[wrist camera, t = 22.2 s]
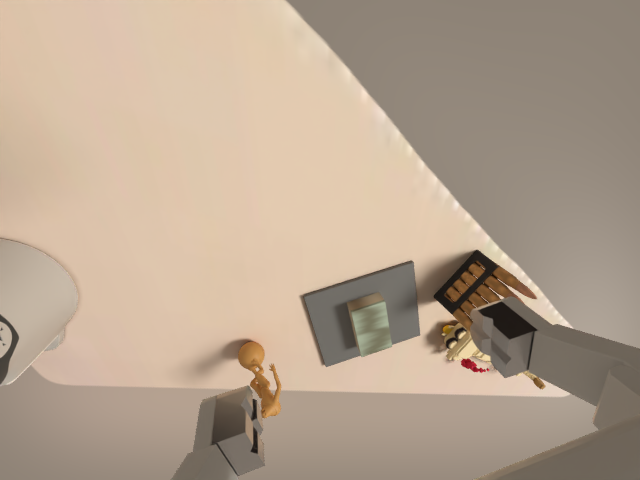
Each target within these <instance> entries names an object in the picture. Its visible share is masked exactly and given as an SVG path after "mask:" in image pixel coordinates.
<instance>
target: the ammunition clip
mask: <svg viewBox="0 0 640 480" xmlns="http://www.w3.org/2000/svg"><path fill="white" fill-rule="evenodd" d="M480 266H481V267H480ZM482 267H483V268H484V269H485V270H484V269H483V268H482ZM473 275H474V276H473ZM475 276H476V277H477V278H478V279H477V278H476V277H475ZM497 278H498V279H499V280H501V281H502V282H503V283H505V284H506V285H508V286H510V287H512V288H514V289H515V290H517V291H519V292H520V293H522V294H523V295H525V296H527V297H529V298H532V299H537V297H536V296H535V294H534V293H533V292H532V291H531V290H530V289H529V288H528V287H527V286H525V285H524V284H523V283H521V282H520V281H519V280H518V279H517V278H516V277H515V276H513V275H512V274H510V273H509V272H508V271H506V270H505V269H503V268H502V267H500V266H499V265H497V264H496V263H494V262H493V261H492V260H490V259H489V258H488V257H486V256H485V255H484V254H482V253H481V252H480V251H479V250H476V251H475V252H474V253H473V254H472V255H471V257H470V258H469V259H468V260H467V261H466V262H465V263H464V264H463V265H462V266H461V267H460V268H459V269H458V270H457V272H456V273H455V274H454V275H453V276H452V277H451V278H450V279H449V280H448V281H447V282H446V283H445V284H444V286H443V287H442V288H441V289H440V290H439V291H438V292H437V293H436V294H435V295H434V298H435V299H436V300H437V301H438V302H439V303H441V304H442V305H443V306H444V307H445V308H446V309H447V310H448V311H449V312H450V313H451V314H452V315H453V316H454V317H455V318H456V319H457V320H458V321H459V322H460V323H461V324H462V325H463V327H464V328H466V329H467V330H469V331H470V326H471V325H472V323H473V321H472V319H471V318H470V317H469V316H470V312H471V311H472V309H475V308H476V307H477V308H478V307H481V306H483V305H486V304H489V303H492V302H495V301H498V300H501V299H500V298H499V296H498V295H497V294H499V295H501V296H503V297H504V298H507V297H510V296H512V297H515V298H517V299H518V300H519V301H521V302H522V303H523V301H522V300H521V299H520V298H519V297H518V296H516V295H515V294H514V293H513V292H512V291H510V290H509V289H508V287H507V286H506V285H504V284H503V283H502V282H500V281H499V280H498V279H497ZM466 283H467V284H468V285H469V286H470V287H469V286H468V285H467V284H466ZM483 283H484V284H483ZM489 287H490V288H491V289H492V290H494V291H495V292H496V293H497V294H496V293H494V292H493V291H492V290H491V289H489ZM475 291H476V292H475ZM461 293H462V294H461ZM481 296H482V297H483V298H484V299H485V300H487V301H488V302H489V303H488V302H487V301H485V300H484V299H483V298H482V297H481ZM467 299H468V300H467ZM473 304H474V305H475V306H476V307H475V306H474V305H473ZM523 304H524V303H523ZM465 312H466V313H467V314H468V315H469V316H468V315H467V314H466V313H465Z"/></svg>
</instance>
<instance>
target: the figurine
mask: <svg viewBox="0 0 640 480" xmlns="http://www.w3.org/2000/svg"><path fill="white" fill-rule="evenodd" d="M238 360H239V362H240V364H241V365H242V366H243V367H244V368H246V369H248V370H250V371H252V372H253V373H254V374H255V378H254V379H253V380H252V381H251V383H250V386H251V387H252V388H253V389H254V390H255V391H256V392H257V394H258V396H259V397H260V398H262V401H261V407H262V410H261V415H262V418H267V417H268V416H276V415H277V414H278V413H279V412H280V410H281V406H280V403H279V395H280V391H281V384H280V381H279V378H278V376H277V373H276V370H275V366H274V364H273V365H272V364H271V366H272V367H271V366H270V365H269V366H270V367H271V369H269V370H271V371H273V373H274V378H275V381H276V384H277V390H276V392H275V395H273V394H272V393H271V391H270V390H269V388H268V387H269V386H270V382H269V381H267V379H266V378H265V377H264V376H263V375H261V374H263V373H264V370H263V368H262V366H261V363H262V362H263V360H264V349H263V347H262V346H261V345H260V344H259V343H256V342H248V343H246V344H244V345H243V346H242V347H241V349H240V351H239V354H238ZM257 367H258V368H259V369H260V370H259V371H258V372H257V371H256V370H255V368H257ZM256 382H258V384H256ZM261 386H262V387H261Z"/></svg>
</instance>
